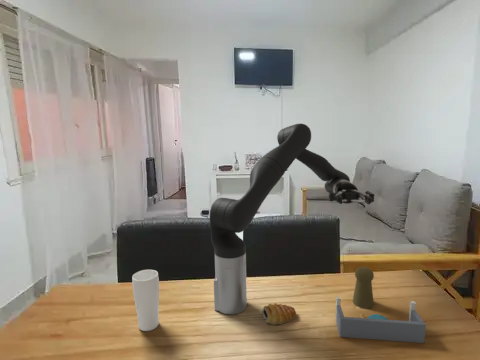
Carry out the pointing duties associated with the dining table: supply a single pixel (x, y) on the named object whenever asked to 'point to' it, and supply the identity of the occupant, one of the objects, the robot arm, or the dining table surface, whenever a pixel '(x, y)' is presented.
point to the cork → (363, 288)
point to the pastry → (278, 313)
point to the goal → (381, 327)
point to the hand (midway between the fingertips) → (355, 201)
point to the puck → (377, 317)
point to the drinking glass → (146, 298)
